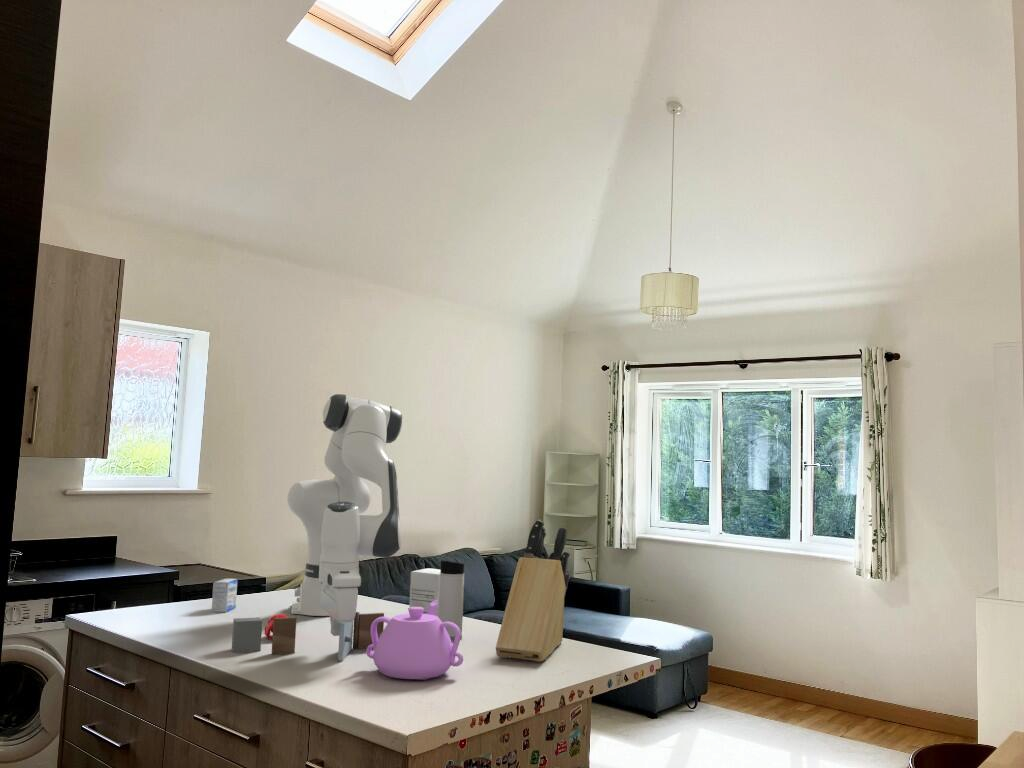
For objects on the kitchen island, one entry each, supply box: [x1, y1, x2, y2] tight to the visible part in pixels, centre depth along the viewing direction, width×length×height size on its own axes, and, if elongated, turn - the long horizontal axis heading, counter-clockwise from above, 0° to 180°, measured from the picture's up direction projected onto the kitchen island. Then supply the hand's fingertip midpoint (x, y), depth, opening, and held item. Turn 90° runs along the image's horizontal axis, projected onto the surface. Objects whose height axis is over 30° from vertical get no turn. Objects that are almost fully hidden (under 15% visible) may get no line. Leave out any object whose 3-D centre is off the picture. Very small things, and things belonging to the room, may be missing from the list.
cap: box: [264, 613, 288, 640], centre depth 201 cm, size 8×6×6 cm
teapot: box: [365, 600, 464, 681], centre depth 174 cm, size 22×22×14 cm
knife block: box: [495, 519, 571, 663], centre depth 201 cm, size 11×35×31 cm, turn 165°
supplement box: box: [408, 567, 441, 617], centre depth 224 cm, size 9×9×15 cm
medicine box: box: [211, 578, 238, 614], centre depth 235 cm, size 8×4×9 cm, turn 179°
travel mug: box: [438, 559, 465, 642], centre depth 207 cm, size 6×7×20 cm
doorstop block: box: [231, 617, 263, 654], centre depth 187 cm, size 4×6×7 cm, turn 115°
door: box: [337, 621, 354, 661], centre depth 186 cm, size 13×2×8 cm, turn 1°
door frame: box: [271, 611, 385, 656], centre depth 189 cm, size 1×26×8 cm, turn 115°
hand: (335, 635), depth 183 cm, fingers closed
